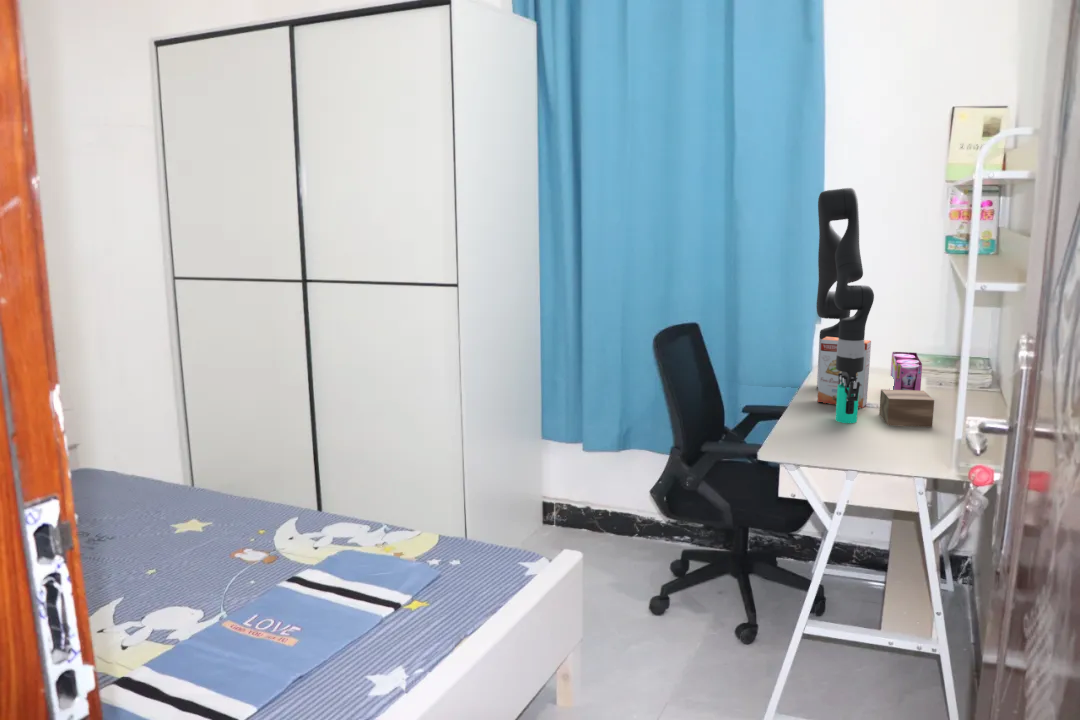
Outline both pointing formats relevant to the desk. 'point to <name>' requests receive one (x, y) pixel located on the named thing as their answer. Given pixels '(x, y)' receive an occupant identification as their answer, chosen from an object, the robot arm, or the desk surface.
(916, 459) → the desk surface
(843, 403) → the candle
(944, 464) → the desk surface
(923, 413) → the walnut block
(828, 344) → the cracker box
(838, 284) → the robot arm
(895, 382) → the gum box
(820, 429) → the desk surface
